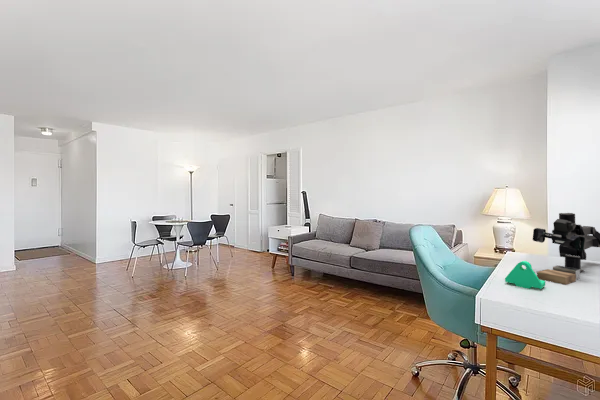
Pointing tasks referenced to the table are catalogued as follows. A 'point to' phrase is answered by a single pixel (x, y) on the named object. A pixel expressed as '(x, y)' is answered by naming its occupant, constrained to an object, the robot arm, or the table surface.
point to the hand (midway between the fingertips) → (549, 241)
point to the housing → (568, 270)
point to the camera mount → (524, 276)
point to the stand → (556, 276)
